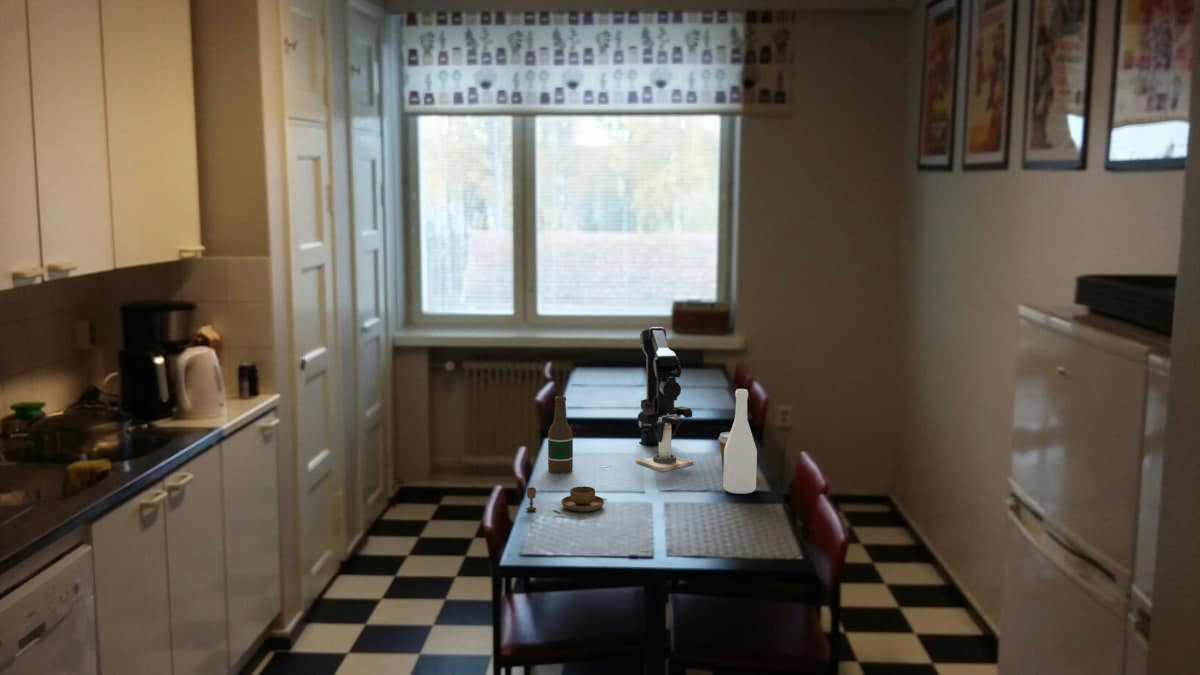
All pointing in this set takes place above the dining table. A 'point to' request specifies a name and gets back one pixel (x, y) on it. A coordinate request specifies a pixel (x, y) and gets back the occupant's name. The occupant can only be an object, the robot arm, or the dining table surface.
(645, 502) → the dining table surface
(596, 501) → the place setting
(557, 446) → the beer bottle
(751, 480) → the wine bottle
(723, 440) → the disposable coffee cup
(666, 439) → the peg
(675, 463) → the eye plate
